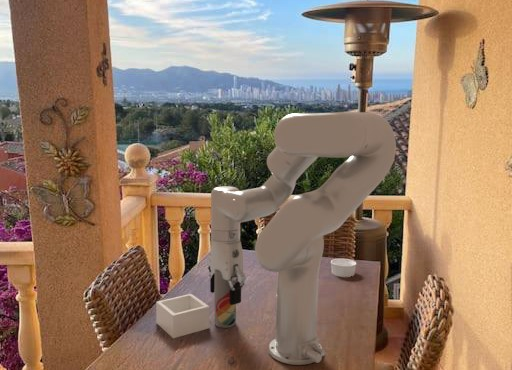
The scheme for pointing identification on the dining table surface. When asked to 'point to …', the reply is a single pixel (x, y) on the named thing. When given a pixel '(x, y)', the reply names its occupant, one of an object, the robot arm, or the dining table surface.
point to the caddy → (182, 315)
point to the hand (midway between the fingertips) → (225, 297)
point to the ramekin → (343, 267)
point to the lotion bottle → (223, 303)
